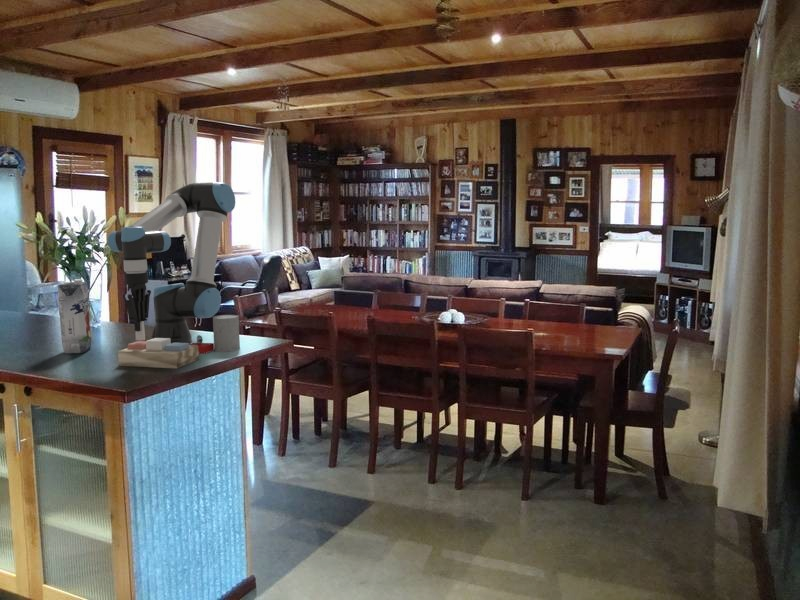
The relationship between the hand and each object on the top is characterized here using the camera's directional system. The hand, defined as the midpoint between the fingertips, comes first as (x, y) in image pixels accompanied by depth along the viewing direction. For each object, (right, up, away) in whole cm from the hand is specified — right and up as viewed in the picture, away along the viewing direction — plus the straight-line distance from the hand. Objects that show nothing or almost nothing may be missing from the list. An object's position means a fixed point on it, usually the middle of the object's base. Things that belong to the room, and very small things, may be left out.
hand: (140, 339), depth 244 cm
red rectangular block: (+16, -6, +18) cm, 24 cm away
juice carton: (-31, -6, +21) cm, 38 cm away
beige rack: (+7, -8, -1) cm, 10 cm away
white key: (+7, -3, -2) cm, 7 cm away
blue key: (+14, -4, -3) cm, 15 cm away
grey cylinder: (+25, -5, +21) cm, 33 cm away
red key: (0, -4, 0) cm, 4 cm away
